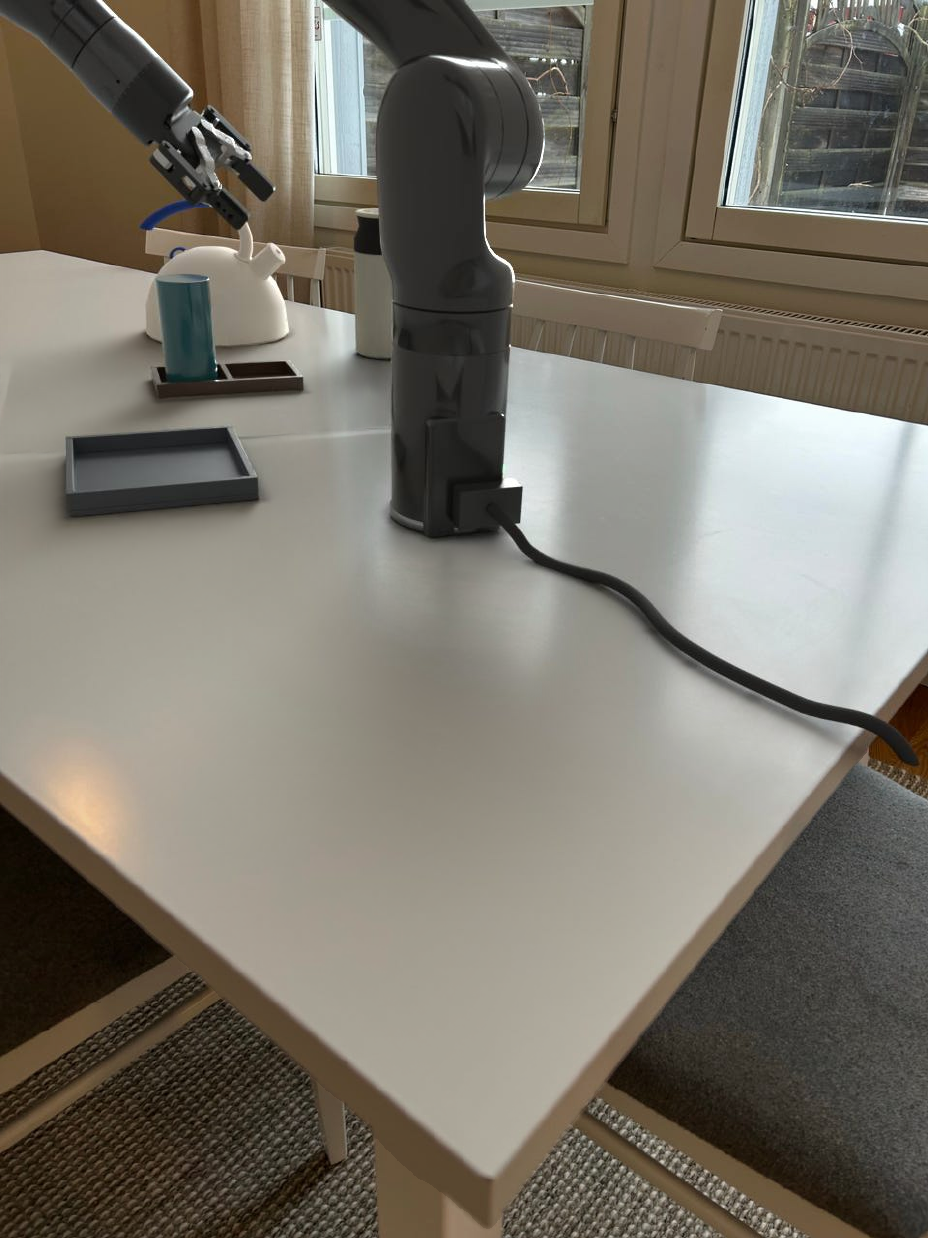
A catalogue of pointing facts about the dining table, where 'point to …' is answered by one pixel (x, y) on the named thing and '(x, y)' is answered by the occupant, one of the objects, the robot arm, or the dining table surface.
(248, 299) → the kettle
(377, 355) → the travel mug
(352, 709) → the dining table surface
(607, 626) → the dining table surface
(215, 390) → the tray
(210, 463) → the tray
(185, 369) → the teal cylinder
